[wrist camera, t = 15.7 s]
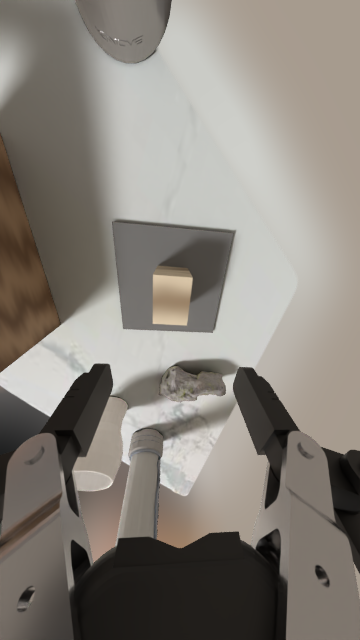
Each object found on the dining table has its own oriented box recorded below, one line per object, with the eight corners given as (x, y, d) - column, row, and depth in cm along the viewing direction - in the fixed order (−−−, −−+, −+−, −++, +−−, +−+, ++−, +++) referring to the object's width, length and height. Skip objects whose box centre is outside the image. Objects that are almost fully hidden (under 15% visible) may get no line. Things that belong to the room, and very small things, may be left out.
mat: (113, 222, 23) (111, 221, 22) (232, 233, 24) (233, 233, 24) (124, 327, 31) (123, 328, 31) (212, 331, 33) (212, 332, 32)
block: (157, 265, 26) (152, 274, 19) (187, 268, 26) (192, 277, 20) (156, 305, 29) (152, 323, 23) (183, 306, 29) (186, 325, 23)
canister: (168, 439, 52) (166, 648, 25) (143, 447, 54) (115, 651, 27) (152, 424, 48) (129, 659, 21) (125, 434, 49) (72, 662, 23)
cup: (114, 386, 39) (84, 463, 26) (141, 407, 44) (127, 482, 30) (83, 402, 41) (42, 480, 28) (112, 421, 46) (88, 496, 33)
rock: (223, 359, 37) (233, 383, 31) (221, 380, 40) (229, 405, 34) (157, 364, 37) (154, 389, 31) (160, 385, 40) (158, 411, 34)
